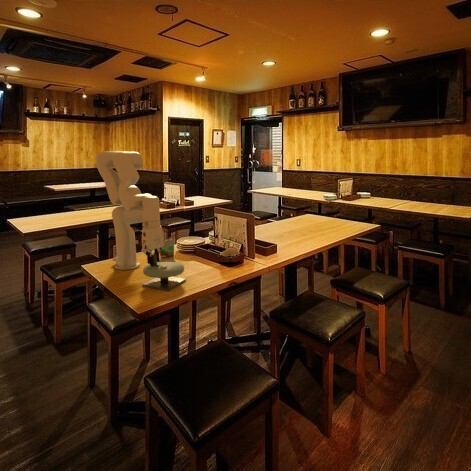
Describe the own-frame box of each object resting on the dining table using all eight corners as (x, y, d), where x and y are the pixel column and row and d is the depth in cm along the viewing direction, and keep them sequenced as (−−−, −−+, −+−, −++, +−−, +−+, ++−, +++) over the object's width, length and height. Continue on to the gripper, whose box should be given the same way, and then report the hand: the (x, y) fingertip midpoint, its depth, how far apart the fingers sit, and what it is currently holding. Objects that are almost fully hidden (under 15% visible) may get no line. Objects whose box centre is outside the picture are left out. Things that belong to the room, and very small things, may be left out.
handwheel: (192, 269, 166) (191, 256, 165) (162, 280, 153) (161, 266, 151) (165, 262, 177) (165, 249, 176) (134, 272, 163) (134, 258, 162)
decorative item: (237, 250, 206) (242, 247, 197) (237, 265, 204) (242, 263, 195) (216, 249, 203) (220, 245, 193) (216, 264, 201) (220, 262, 192)
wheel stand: (142, 286, 163) (141, 274, 161) (160, 276, 175) (160, 265, 174) (168, 291, 157) (168, 278, 156) (185, 280, 170) (185, 269, 168)
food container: (168, 260, 201) (168, 242, 199) (159, 259, 203) (158, 241, 201) (179, 254, 212) (179, 237, 210) (170, 253, 214) (169, 236, 212)
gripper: (144, 228, 155) (146, 269, 160) (170, 221, 169) (171, 259, 173) (131, 226, 159) (134, 266, 163) (157, 219, 173) (159, 257, 177)
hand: (153, 262), depth 168 cm, fingers closed on handwheel, 3 cm apart
